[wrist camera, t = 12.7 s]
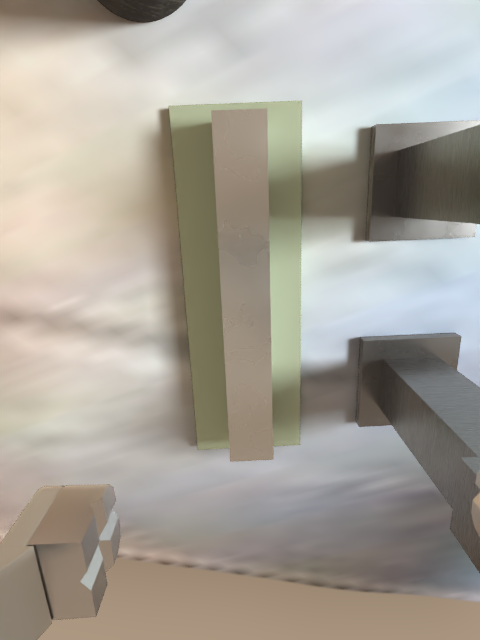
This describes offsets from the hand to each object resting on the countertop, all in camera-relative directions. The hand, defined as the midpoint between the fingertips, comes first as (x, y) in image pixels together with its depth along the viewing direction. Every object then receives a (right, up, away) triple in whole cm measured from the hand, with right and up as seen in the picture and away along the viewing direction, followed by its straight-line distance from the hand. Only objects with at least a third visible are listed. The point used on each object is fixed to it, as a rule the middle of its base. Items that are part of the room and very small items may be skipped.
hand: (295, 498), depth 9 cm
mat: (-1, +6, +18) cm, 19 cm away
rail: (-1, +6, +18) cm, 19 cm away
